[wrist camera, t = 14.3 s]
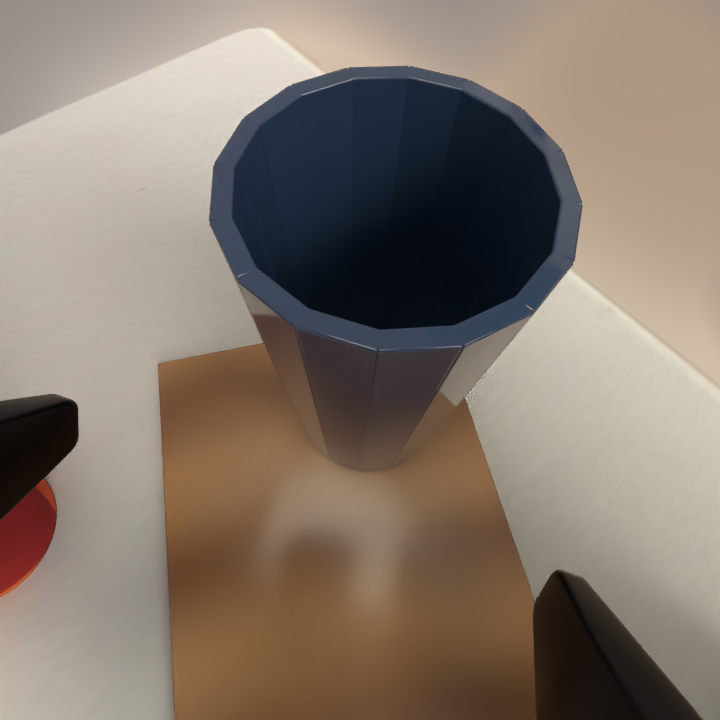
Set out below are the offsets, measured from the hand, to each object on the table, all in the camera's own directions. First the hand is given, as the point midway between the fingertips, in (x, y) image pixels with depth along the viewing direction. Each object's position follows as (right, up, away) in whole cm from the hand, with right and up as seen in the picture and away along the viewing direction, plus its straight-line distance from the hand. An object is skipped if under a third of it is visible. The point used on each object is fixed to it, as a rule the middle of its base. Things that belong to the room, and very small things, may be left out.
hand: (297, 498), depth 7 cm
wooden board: (0, -5, +10) cm, 12 cm away
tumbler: (+1, +1, +12) cm, 12 cm away
